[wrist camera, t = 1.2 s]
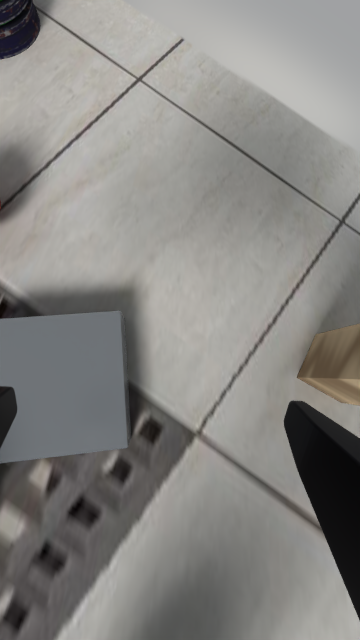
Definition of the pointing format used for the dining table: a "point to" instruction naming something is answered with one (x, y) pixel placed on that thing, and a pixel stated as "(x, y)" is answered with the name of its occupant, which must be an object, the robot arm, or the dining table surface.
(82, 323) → the plate
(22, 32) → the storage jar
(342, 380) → the oak block
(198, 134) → the dining table surface
